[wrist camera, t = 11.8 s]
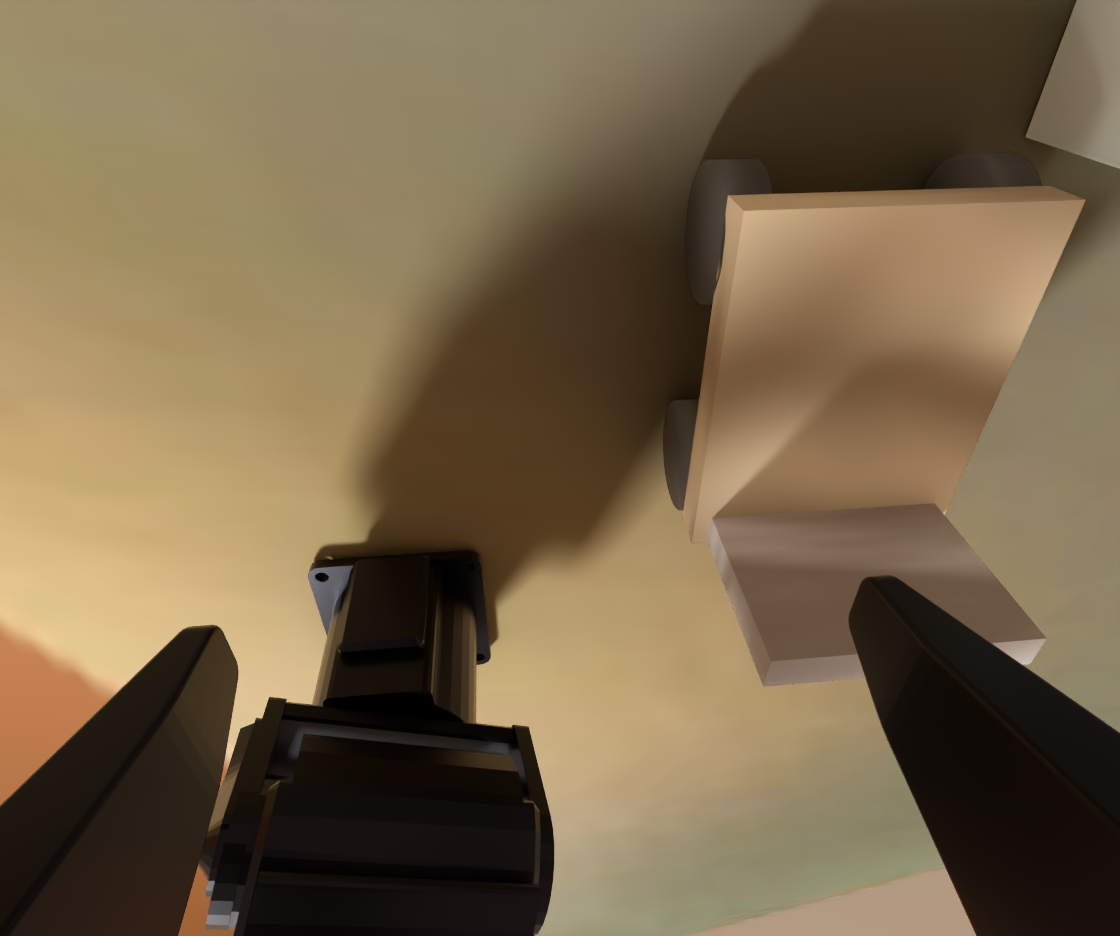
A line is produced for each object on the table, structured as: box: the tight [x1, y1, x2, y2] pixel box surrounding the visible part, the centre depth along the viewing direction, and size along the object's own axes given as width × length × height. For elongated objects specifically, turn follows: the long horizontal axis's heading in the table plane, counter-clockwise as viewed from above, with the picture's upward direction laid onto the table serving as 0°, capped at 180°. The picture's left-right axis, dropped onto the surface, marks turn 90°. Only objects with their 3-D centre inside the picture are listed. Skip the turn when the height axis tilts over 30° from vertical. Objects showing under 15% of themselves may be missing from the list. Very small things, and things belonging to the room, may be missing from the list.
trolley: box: [663, 152, 1086, 686], centre depth 18 cm, size 11×8×10 cm
